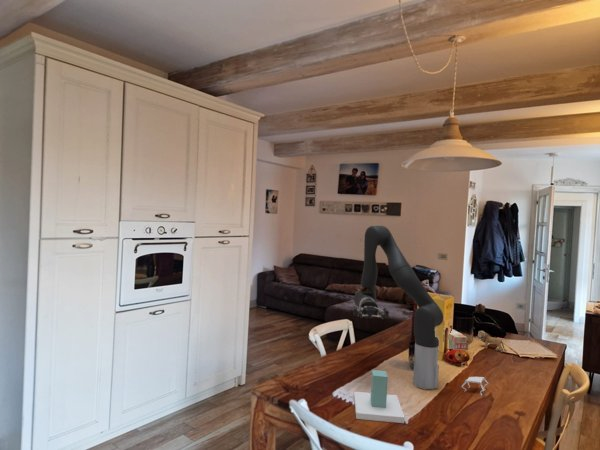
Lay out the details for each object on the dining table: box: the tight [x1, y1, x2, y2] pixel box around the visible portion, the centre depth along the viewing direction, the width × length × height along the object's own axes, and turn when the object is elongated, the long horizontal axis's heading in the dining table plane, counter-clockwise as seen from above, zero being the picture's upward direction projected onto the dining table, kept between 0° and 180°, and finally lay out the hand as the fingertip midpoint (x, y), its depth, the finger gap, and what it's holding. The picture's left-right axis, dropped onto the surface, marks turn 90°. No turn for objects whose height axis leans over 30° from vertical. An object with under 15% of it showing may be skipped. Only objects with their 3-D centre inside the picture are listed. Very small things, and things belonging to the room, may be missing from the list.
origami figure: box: [461, 376, 489, 396], centre depth 156 cm, size 12×8×5 cm
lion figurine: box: [477, 330, 508, 353], centre depth 209 cm, size 15×5×9 cm, turn 57°
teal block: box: [370, 369, 389, 408], centre depth 137 cm, size 5×5×11 cm
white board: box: [353, 391, 406, 424], centre depth 137 cm, size 16×16×2 cm
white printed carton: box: [449, 328, 468, 352], centre depth 199 cm, size 21×6×12 cm, turn 9°
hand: (372, 316), depth 151 cm, fingers open, 8 cm apart
